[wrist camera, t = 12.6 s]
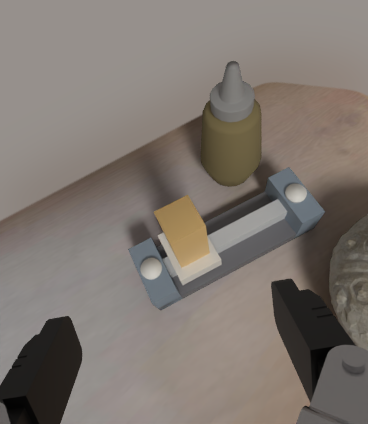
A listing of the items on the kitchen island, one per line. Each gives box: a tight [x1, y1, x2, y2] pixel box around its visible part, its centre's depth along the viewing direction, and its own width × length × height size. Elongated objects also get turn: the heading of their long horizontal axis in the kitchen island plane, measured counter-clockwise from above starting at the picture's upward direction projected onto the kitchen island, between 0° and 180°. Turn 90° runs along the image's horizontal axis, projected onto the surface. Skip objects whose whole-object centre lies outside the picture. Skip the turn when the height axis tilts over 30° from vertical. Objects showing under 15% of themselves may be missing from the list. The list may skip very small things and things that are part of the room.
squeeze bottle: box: [201, 61, 261, 187], centre depth 38 cm, size 8×8×18 cm
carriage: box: [154, 195, 222, 285], centre depth 34 cm, size 5×6×12 cm
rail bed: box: [128, 167, 325, 310], centre depth 39 cm, size 22×7×5 cm, turn 117°
